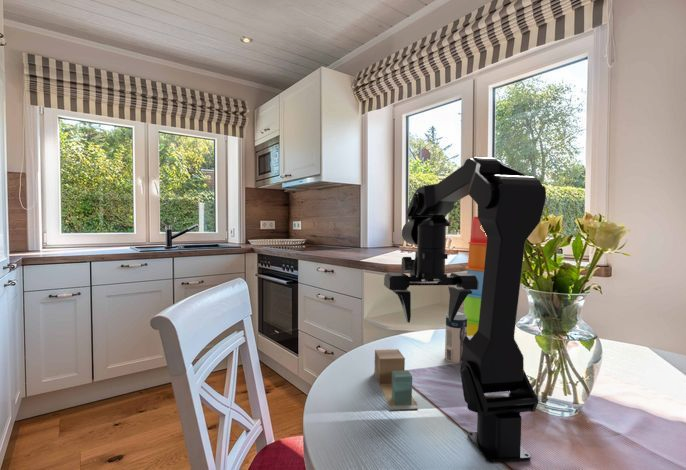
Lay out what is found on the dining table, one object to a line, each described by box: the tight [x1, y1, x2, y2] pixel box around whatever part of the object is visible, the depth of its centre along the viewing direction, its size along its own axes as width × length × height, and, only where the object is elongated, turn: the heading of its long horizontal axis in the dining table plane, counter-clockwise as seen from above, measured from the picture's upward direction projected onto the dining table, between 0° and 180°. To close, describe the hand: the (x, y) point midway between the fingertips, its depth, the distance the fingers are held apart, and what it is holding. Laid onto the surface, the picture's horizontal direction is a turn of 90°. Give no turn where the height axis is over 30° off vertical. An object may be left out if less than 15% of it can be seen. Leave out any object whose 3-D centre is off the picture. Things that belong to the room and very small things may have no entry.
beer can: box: [444, 310, 467, 364], centre depth 84 cm, size 5×5×12 cm
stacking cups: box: [463, 216, 487, 336], centre depth 95 cm, size 10×10×35 cm
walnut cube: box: [373, 348, 406, 385], centre depth 74 cm, size 5×5×5 cm
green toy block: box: [373, 370, 418, 413], centre depth 70 cm, size 14×5×6 cm, turn 6°
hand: (429, 321), depth 76 cm, fingers open, 9 cm apart
